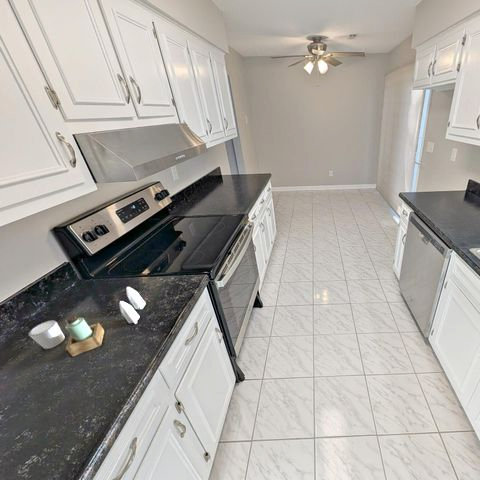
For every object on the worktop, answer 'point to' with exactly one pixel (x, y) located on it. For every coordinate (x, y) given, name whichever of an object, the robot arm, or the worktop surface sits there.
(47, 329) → the white cup
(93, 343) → the box
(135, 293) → the shaker set
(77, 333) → the bottle
